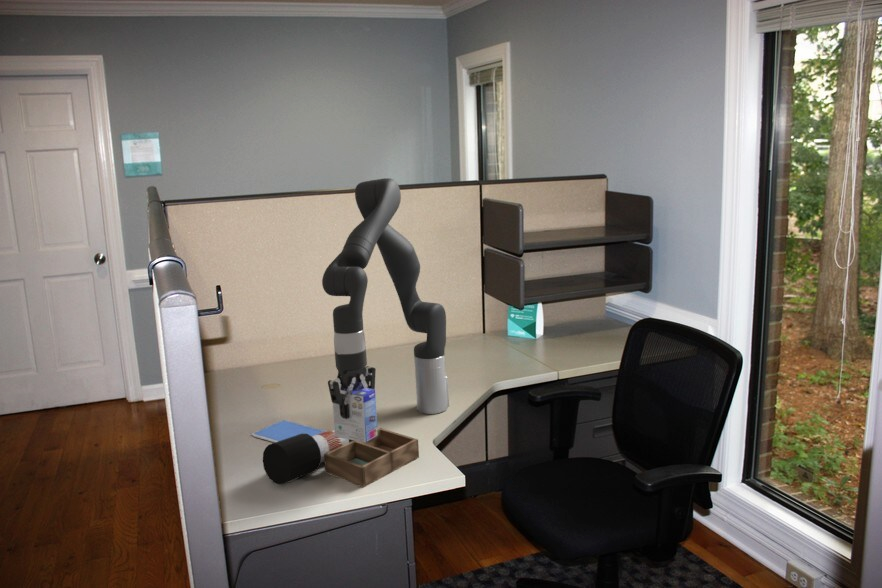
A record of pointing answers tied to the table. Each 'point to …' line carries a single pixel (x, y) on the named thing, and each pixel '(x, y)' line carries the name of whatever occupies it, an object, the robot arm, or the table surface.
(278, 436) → the blue flat pad
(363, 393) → the ink cartridge box
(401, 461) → the slot caddy
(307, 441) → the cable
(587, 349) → the table surface
